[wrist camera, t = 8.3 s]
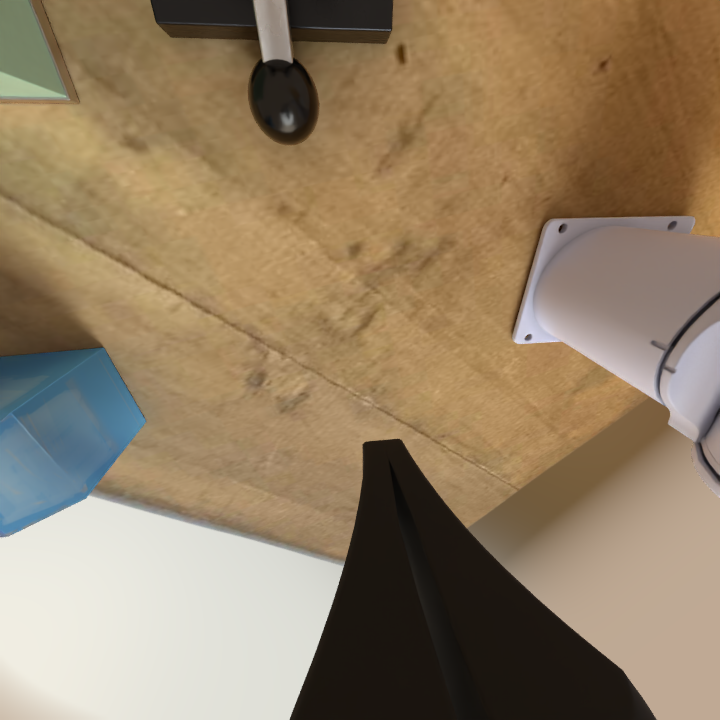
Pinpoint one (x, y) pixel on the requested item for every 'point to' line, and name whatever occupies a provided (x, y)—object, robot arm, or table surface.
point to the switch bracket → (306, 11)
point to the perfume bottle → (58, 431)
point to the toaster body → (31, 57)
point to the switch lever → (280, 79)
